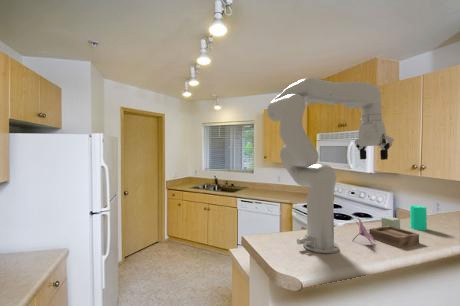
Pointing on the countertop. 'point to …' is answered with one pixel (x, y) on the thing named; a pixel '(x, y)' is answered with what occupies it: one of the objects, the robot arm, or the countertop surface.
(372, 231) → the base block
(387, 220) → the sage block
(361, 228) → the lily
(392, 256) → the countertop surface
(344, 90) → the robot arm
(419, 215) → the candle
